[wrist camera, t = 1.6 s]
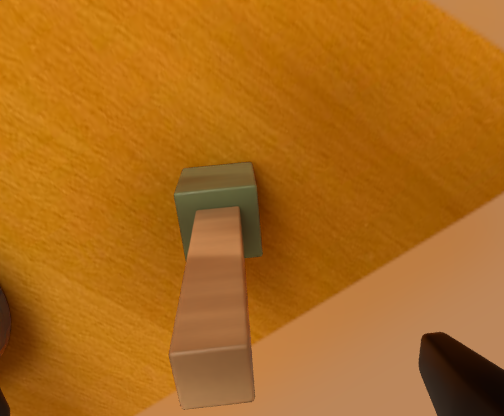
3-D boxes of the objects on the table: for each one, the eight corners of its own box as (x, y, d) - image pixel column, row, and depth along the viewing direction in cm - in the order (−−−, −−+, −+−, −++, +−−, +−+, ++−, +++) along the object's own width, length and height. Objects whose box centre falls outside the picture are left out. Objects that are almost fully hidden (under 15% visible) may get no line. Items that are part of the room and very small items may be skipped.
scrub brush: (257, 223, 18) (290, 422, 8) (192, 230, 17) (153, 437, 8) (252, 160, 16) (282, 313, 7) (182, 167, 16) (123, 331, 7)
